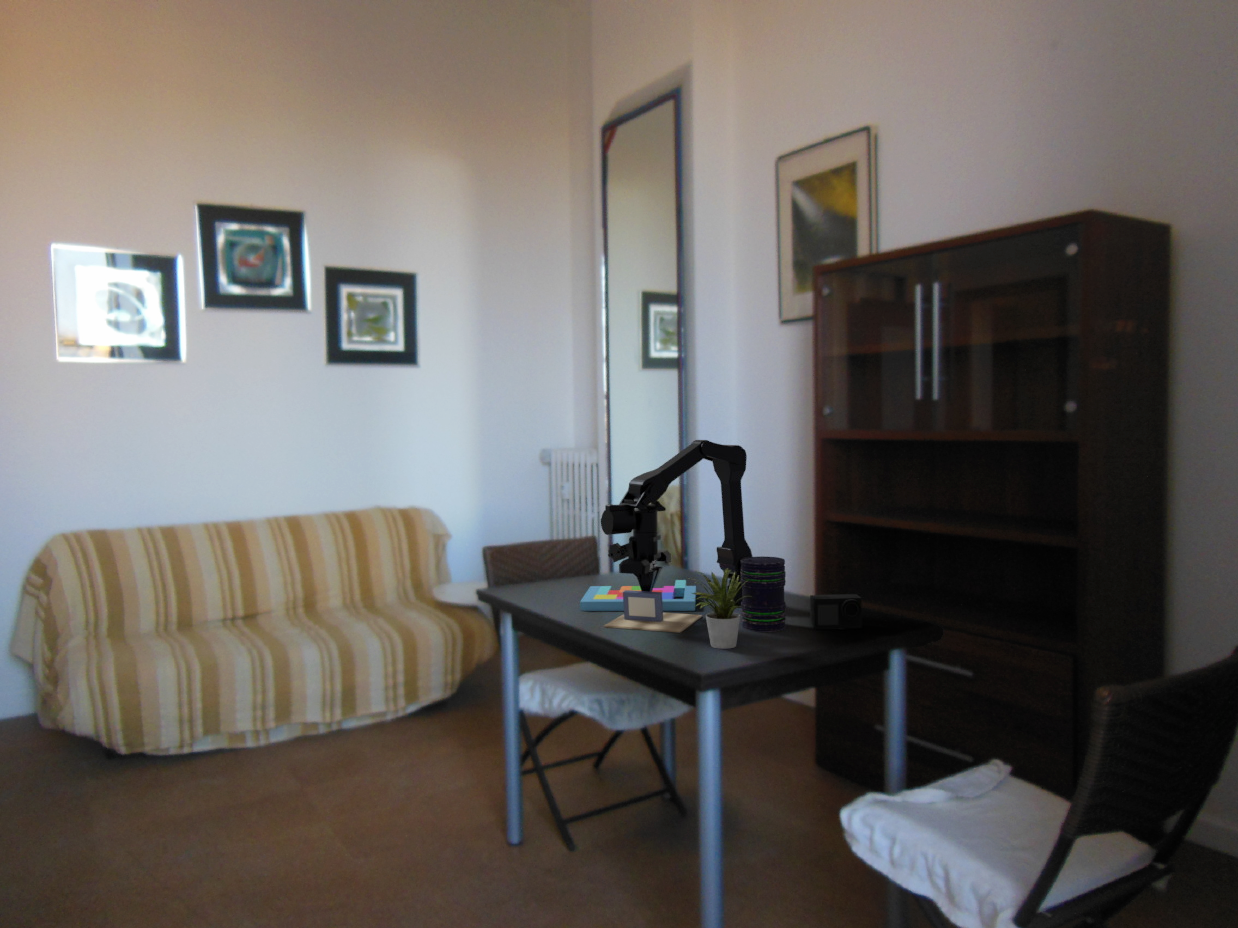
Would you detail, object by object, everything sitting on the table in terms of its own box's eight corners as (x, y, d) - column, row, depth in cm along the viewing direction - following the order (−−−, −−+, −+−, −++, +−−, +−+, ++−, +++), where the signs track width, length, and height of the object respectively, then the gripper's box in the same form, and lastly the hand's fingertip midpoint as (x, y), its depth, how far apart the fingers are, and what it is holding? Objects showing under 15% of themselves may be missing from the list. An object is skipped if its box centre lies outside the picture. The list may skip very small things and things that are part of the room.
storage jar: (786, 622, 202) (785, 556, 201) (786, 632, 193) (785, 563, 192) (742, 621, 204) (741, 556, 203) (740, 631, 194) (738, 563, 194)
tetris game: (695, 612, 216) (696, 590, 244) (694, 601, 216) (696, 579, 244) (580, 612, 219) (594, 590, 247) (580, 601, 219) (594, 580, 247)
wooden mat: (701, 616, 210) (701, 614, 210) (680, 632, 195) (680, 630, 195) (630, 611, 216) (630, 610, 216) (604, 627, 202) (604, 625, 202)
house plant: (690, 634, 193) (688, 559, 192) (755, 635, 190) (754, 559, 190) (684, 652, 179) (682, 571, 178) (754, 653, 176) (753, 571, 176)
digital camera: (815, 631, 193) (815, 599, 193) (809, 625, 198) (809, 594, 198) (863, 630, 193) (863, 598, 193) (856, 624, 199) (856, 593, 198)
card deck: (663, 619, 205) (661, 592, 204) (660, 621, 204) (659, 594, 203) (626, 617, 208) (625, 590, 208) (624, 619, 207) (622, 592, 206)
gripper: (628, 525, 218) (629, 589, 219) (597, 535, 201) (598, 604, 202) (671, 527, 214) (672, 591, 215) (643, 537, 197) (644, 607, 197)
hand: (646, 598), depth 207 cm, fingers closed
